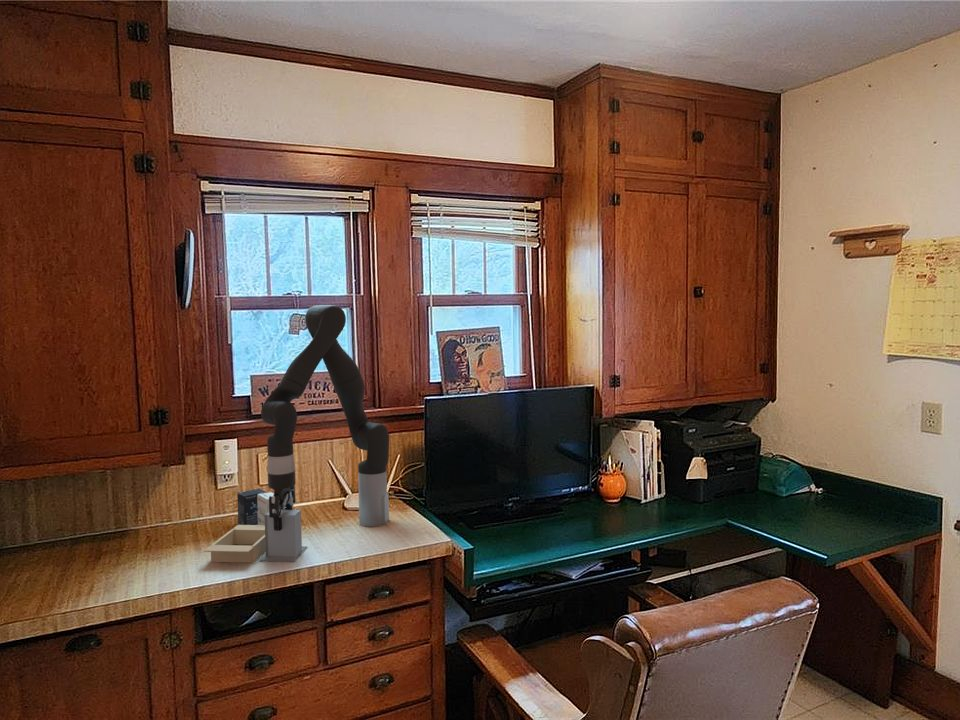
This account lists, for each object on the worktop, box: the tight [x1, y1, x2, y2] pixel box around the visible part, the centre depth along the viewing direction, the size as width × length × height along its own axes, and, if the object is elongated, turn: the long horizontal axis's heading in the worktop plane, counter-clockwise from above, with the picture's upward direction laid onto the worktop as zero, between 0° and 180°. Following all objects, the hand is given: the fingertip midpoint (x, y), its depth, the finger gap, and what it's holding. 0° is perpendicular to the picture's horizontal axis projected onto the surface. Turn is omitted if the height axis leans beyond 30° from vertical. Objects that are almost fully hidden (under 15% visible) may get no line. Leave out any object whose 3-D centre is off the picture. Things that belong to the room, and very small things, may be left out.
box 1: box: [236, 488, 268, 525], centre depth 218 cm, size 8×6×11 cm
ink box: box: [257, 492, 274, 525], centre depth 209 cm, size 8×5×12 cm, turn 39°
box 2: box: [264, 509, 303, 557], centre depth 189 cm, size 9×5×12 cm, turn 86°
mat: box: [259, 545, 308, 563], centre depth 190 cm, size 10×11×1 cm
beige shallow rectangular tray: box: [203, 524, 266, 563], centre depth 192 cm, size 13×22×4 cm, turn 176°
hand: (283, 525), depth 189 cm, fingers open, 8 cm apart
